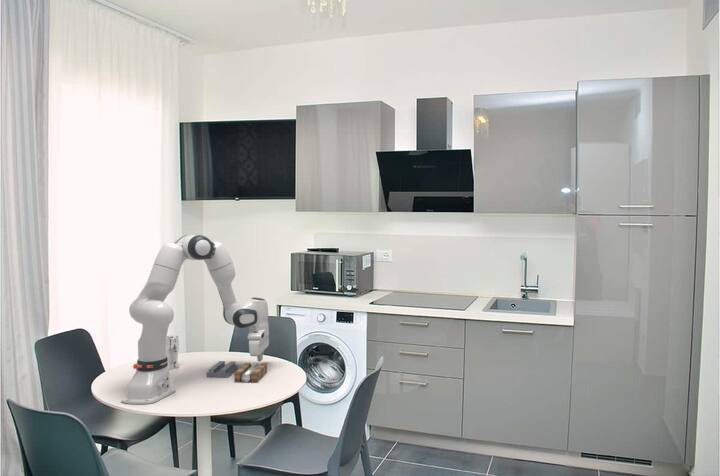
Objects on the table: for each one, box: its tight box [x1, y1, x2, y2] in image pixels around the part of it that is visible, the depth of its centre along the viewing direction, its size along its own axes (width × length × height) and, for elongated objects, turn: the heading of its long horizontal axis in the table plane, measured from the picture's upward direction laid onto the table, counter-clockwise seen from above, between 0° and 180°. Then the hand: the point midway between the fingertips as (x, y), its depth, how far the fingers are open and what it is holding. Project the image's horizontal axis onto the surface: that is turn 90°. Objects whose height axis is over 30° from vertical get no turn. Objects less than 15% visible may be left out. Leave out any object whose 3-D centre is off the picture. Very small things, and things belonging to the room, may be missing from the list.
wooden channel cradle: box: [233, 362, 268, 384], centre depth 252 cm, size 16×10×5 cm, turn 174°
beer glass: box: [166, 334, 180, 370], centre depth 272 cm, size 7×7×15 cm
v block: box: [206, 360, 239, 379], centre depth 259 cm, size 14×10×4 cm
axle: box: [241, 362, 260, 384], centre depth 252 cm, size 16×4×4 cm, turn 174°
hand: (260, 360), depth 266 cm, fingers closed
